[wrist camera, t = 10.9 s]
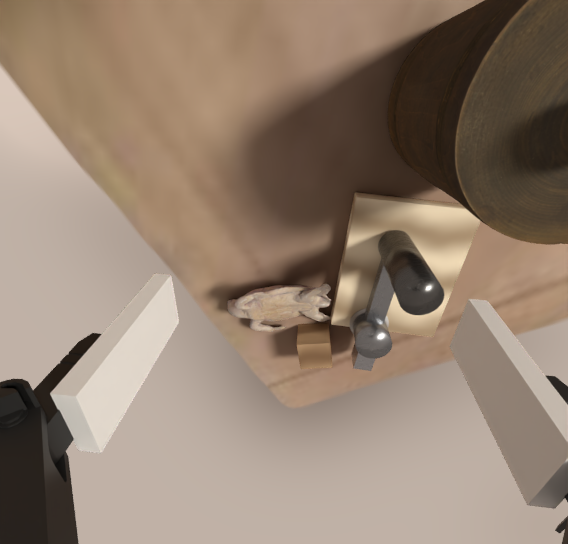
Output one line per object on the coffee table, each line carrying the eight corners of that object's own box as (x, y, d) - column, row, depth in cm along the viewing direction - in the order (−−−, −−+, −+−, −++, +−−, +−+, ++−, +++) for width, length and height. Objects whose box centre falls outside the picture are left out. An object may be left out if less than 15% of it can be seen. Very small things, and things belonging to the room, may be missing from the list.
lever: (375, 357, 46) (390, 426, 37) (344, 352, 46) (351, 421, 37) (418, 232, 37) (454, 282, 27) (380, 227, 37) (402, 275, 27)
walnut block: (298, 324, 48) (296, 344, 44) (328, 322, 47) (329, 343, 43) (301, 347, 50) (300, 368, 46) (331, 345, 49) (332, 367, 45)
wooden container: (473, 200, 37) (643, 318, 18) (359, 140, 35) (413, 200, 16) (585, 59, 30) (1074, -1, 11) (451, -26, 28) (754, -292, 8)
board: (354, 192, 37) (356, 198, 35) (476, 205, 37) (485, 212, 35) (328, 324, 47) (329, 334, 45) (425, 336, 47) (430, 347, 45)
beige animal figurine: (322, 249, 45) (309, 259, 35) (354, 308, 45) (350, 333, 36) (233, 296, 50) (201, 317, 40) (263, 349, 50) (238, 382, 41)
